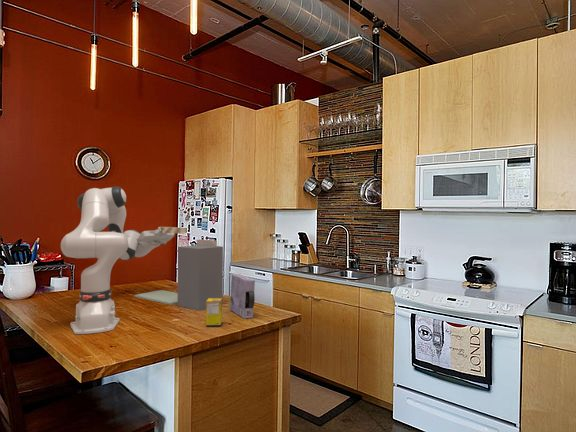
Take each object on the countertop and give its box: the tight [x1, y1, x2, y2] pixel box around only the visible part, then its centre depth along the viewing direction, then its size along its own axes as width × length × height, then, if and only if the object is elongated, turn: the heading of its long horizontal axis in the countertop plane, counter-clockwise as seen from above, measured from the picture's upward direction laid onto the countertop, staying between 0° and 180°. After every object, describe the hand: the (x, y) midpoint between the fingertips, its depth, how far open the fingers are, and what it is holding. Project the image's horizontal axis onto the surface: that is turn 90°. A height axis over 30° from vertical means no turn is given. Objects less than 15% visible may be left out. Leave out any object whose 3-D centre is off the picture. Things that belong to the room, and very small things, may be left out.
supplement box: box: [205, 298, 223, 328], centre depth 165 cm, size 6×6×11 cm
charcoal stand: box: [177, 244, 224, 311], centre depth 200 cm, size 16×16×30 cm
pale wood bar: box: [196, 239, 218, 247], centre depth 204 cm, size 12×3×3 cm, turn 54°
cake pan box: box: [229, 273, 256, 320], centre depth 183 cm, size 19×5×18 cm, turn 30°
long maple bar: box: [157, 226, 187, 235], centre depth 213 cm, size 20×3×3 cm, turn 54°
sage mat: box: [134, 289, 178, 306], centre depth 216 cm, size 32×18×1 cm, turn 54°
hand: (164, 228), depth 217 cm, fingers closed on long maple bar, 3 cm apart
